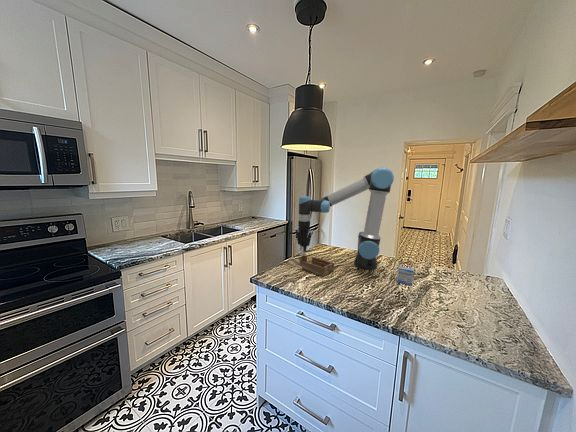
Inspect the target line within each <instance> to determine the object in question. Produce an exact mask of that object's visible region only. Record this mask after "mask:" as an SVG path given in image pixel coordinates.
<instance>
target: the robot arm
mask: <svg viewBox="0 0 576 432" xmlns="http://www.w3.org/2000/svg"><path fill="white" fill-rule="evenodd" d="M394 179H395V175H394V173H393V172H392V170H391V169H389V168H388V167H384V166H383V167H377V168H376V169H373V170H372V171H371V172H370V173H367V174H365V175H364V176H363V177H362V179H360V180H358V181H355V182H353V183H351V184H348V185H347V186H345V187H343V188H341V189H338V190H336V191H335V192H332V193H330V194H328V195H326V196H324V197H321V198H320V199H317V200H315V199H312V197H311V196H307V195H306V196H303V195H302V196H300V197H299V198H298V199H299V200H298V224H297V226H298V228H297V229H295V230H294V231H295V234H296V240H297V244H298V245H299V246H300V249H299V250H300V257H301V256H305V255H306V251H307V248H308V247H309V246H310V243H311V240H312V235H314V233H313V232H312V231H311V229H310V226H311V212H312V213H324V214H325V213H326V214H327V213H329V212H330V209H331V207H333V206H334V205H335V206H336V205H337V204H339V203H342V202H344V201H345V200H348V199H350V198H353V197H355V196H357V195H359V194H362V193H363V192H366V191H367V190H368V191H369V192H370V196H369V202H368V206H367V212H366V218H365V223H364V228H363V231H359V232H358V235H357V236H358V239H357V251H356V252H357V253H356V255H355V258H354V260H353V265H354V267H356V268H358V269H361V270H362V269H363V270H368V271H369V270H375V269H377V268H378V266H379V265H378V264H379V263H378V260H377V256H378V255H379V254H380V243H381V239H382V238H381V236H380V234H379V233H380V229H381V224H382V218H383V213H384V209H385V204H386V200H387V199H386V198H387V195H388V194H390V193H391V187H392V184H393V182H394Z"/></svg>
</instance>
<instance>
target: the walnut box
mask: <svg viewBox="0 0 576 432" xmlns="http://www.w3.org/2000/svg"><path fill="white" fill-rule="evenodd" d="M301 270H302V271H303V272H307V273H309V272H310V274H312V275H314V276H319V277H321V278H325V277H326V276H329V275H330V274H332V273H334V272H335V263H334V262H332V261H328V260H325V259H322V258H319V257H318V258H317V257H315V256H313V257H312V259H311V261H310V262H308V261H307V262H304V261H303V262H302V268H301Z"/></svg>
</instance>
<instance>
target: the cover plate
mask: <svg viewBox="0 0 576 432" xmlns="http://www.w3.org/2000/svg"><path fill="white" fill-rule="evenodd" d="M303 261H304V262H308V255H307V254H305V256H301V255H300V256H299V259H298V258H294V259H292V260H291V259H290V260H287V261H286V263H287V264H288V265H291V266H294V267H296V268H300V269H302V262H303Z"/></svg>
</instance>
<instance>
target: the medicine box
mask: <svg viewBox="0 0 576 432" xmlns="http://www.w3.org/2000/svg"><path fill="white" fill-rule="evenodd" d="M414 271H415V270H414V268H412V267H405V266H399V265H398V269H397V275H396V276H397V277H396V283H397V284H402V285H408V286H413V279H414Z"/></svg>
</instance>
